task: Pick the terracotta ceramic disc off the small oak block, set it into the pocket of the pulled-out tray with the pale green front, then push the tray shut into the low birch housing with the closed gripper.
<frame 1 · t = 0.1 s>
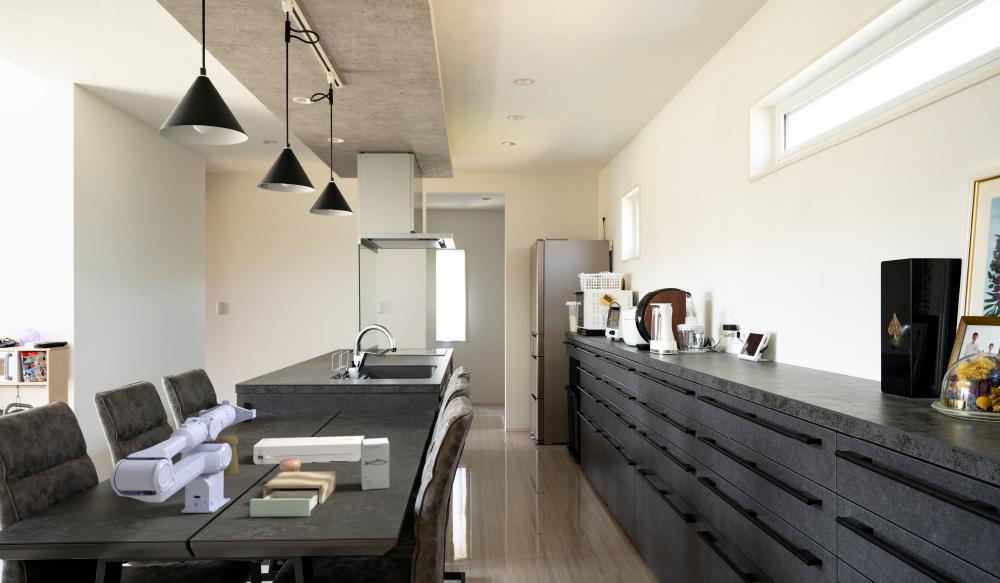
hand: (240, 406, 171), 22 cm above the table, tool horizontal, fingers open, 7 cm apart
supplement box: (374, 486, 168), on the table
pedestal: (290, 482, 171), on the table
laminator: (310, 460, 197), on the table
tray: (288, 499, 150), point 2 cm above the table, slide at 8.0 cm
disc: (290, 468, 171), point 4 cm above the table, touching pedestal
pepper mill: (228, 473, 181), on the table
housing: (300, 496, 158), on the table
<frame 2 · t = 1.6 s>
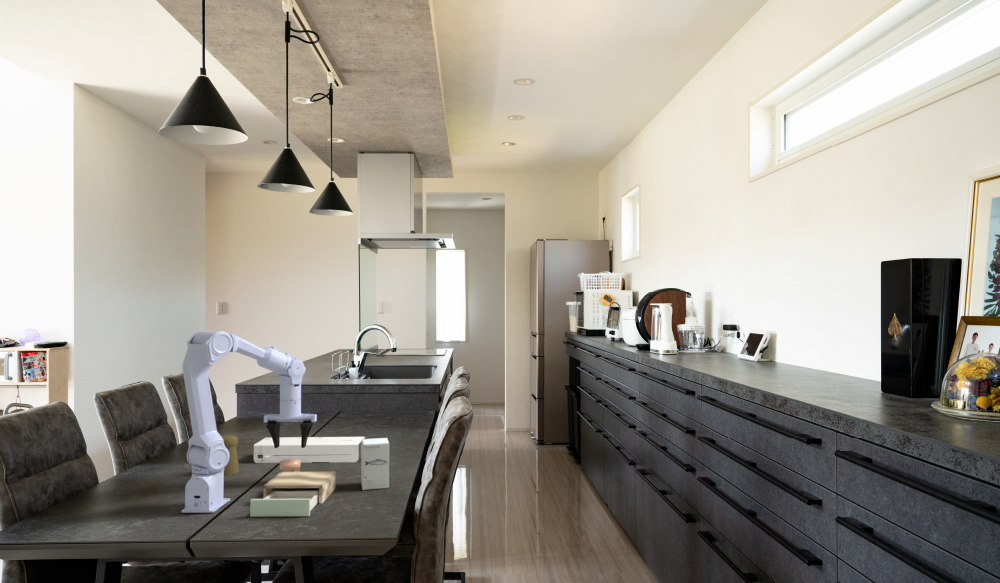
hand: (290, 447, 172), 10 cm above the table, tool pointing down, fingers open, 7 cm apart
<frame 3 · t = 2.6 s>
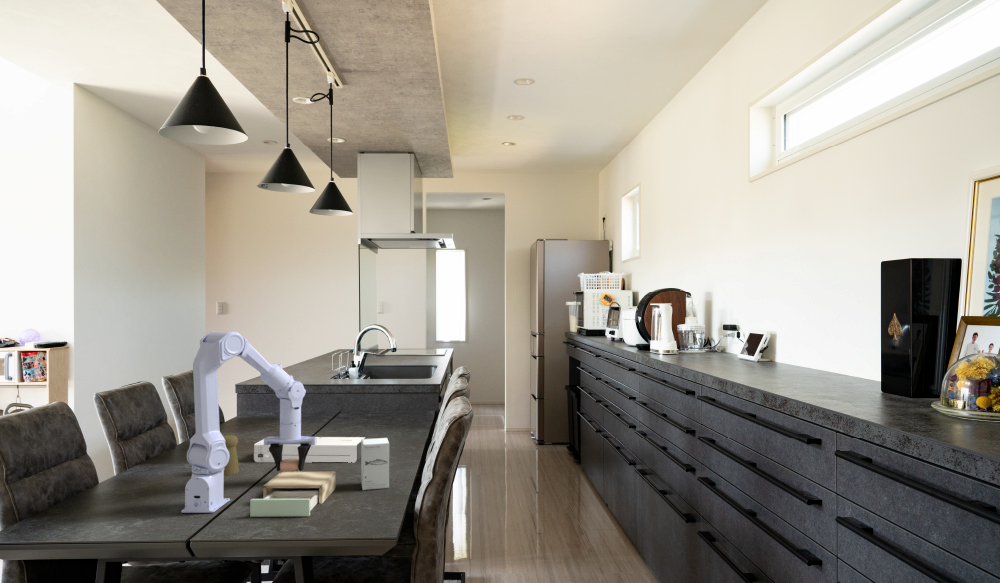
hand: (290, 470, 171), 3 cm above the table, tool pointing down, fingers closed on disc, 6 cm apart
disc: (290, 467, 171), point 4 cm above the table, touching gripper, pedestal
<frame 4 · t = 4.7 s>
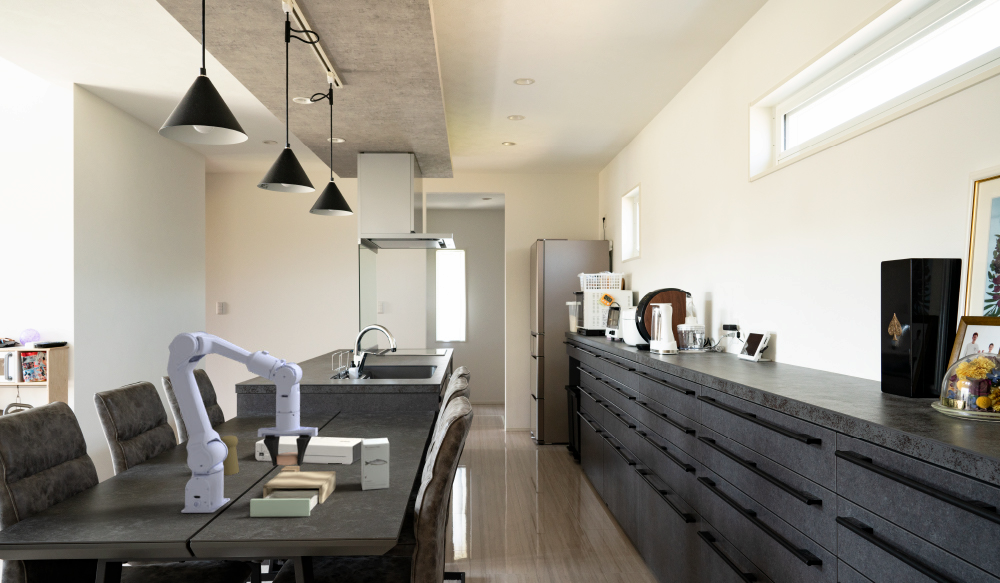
hand: (287, 464, 152), 10 cm above the table, tool pointing down, fingers closed on disc, 6 cm apart
disc: (288, 462, 153), point 11 cm above the table, touching gripper
when the fingers open (2 cm above the table, at t = 6.9 s): disc drops 1 cm, resting on tray.
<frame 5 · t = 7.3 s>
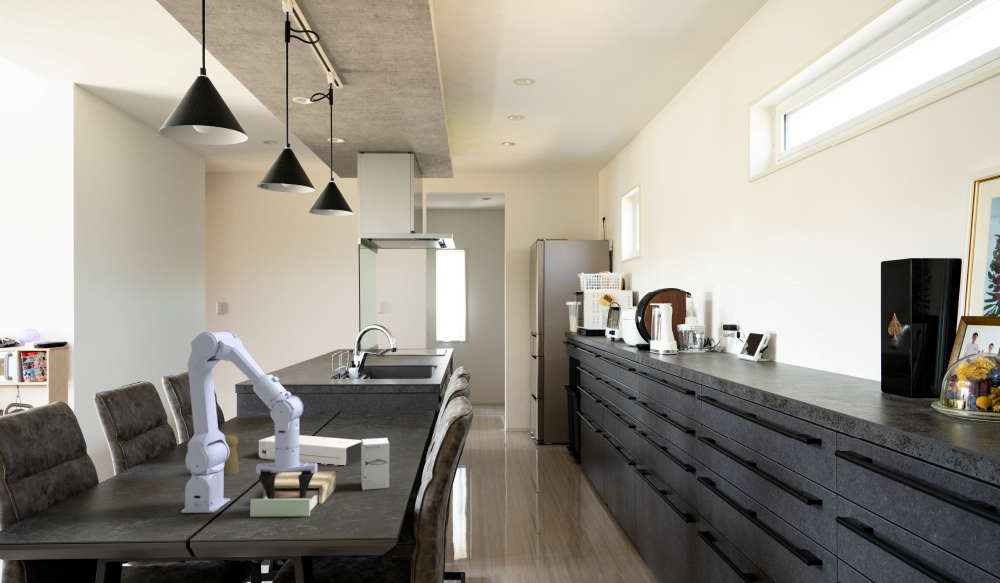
hand: (286, 501, 148), 2 cm above the table, tool pointing down, fingers open, 7 cm apart
tray: (288, 499, 150), point 2 cm above the table, slide at 8.0 cm, touching disc
disc: (287, 504, 149), point 1 cm above the table, touching tray
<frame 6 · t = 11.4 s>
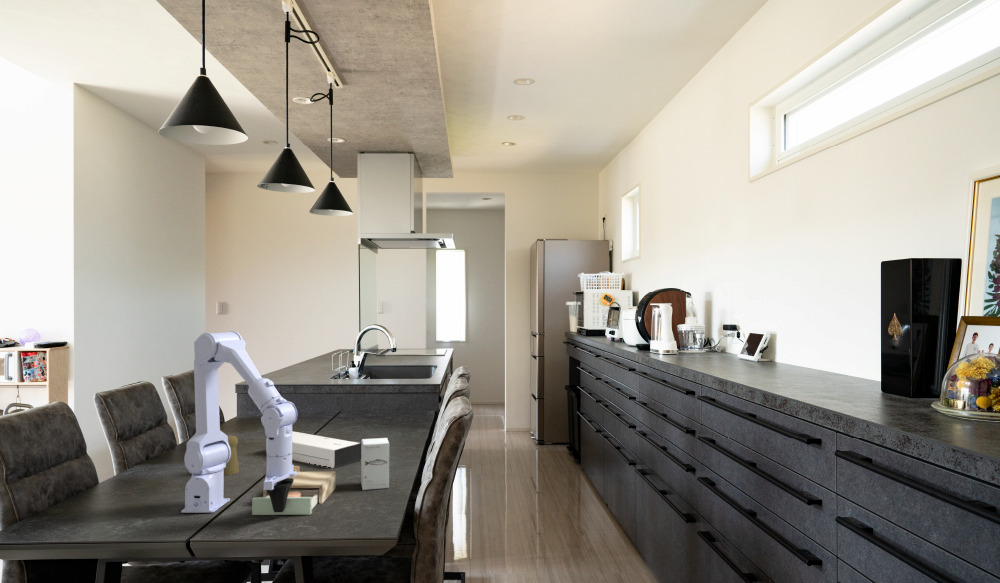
hand: (279, 511, 143), 1 cm above the table, tool pointing down, fingers closed
tray: (290, 497, 151), point 2 cm above the table, slide at 6.9 cm, touching disc, gripper
disc: (288, 502, 150), point 1 cm above the table, touching tray
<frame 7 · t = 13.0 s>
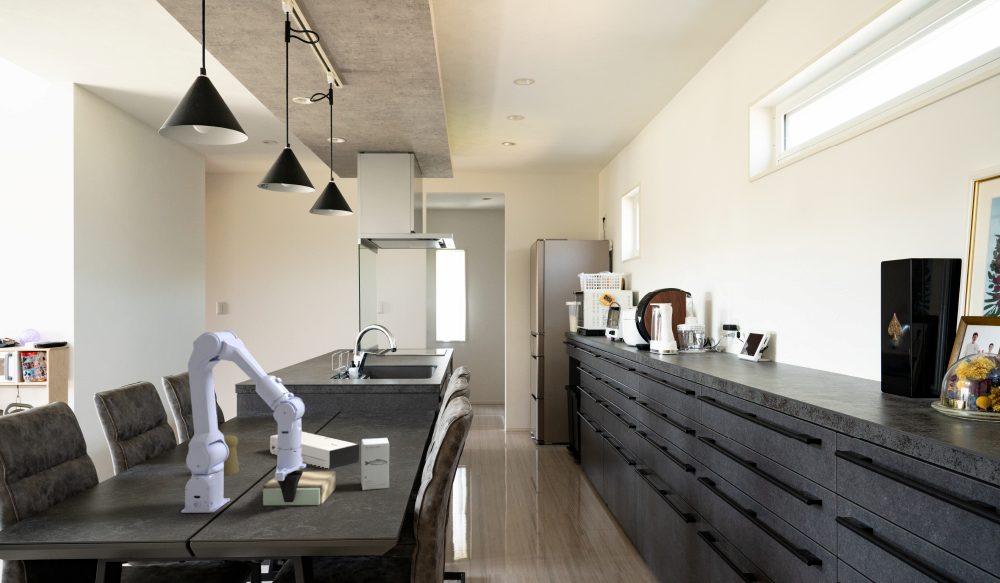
hand: (289, 501, 150), 1 cm above the table, tool pointing down, fingers closed
tray: (299, 489, 158), point 2 cm above the table, slide at 0.0 cm, touching disc, gripper
disc: (297, 494, 157), point 1 cm above the table, touching tray
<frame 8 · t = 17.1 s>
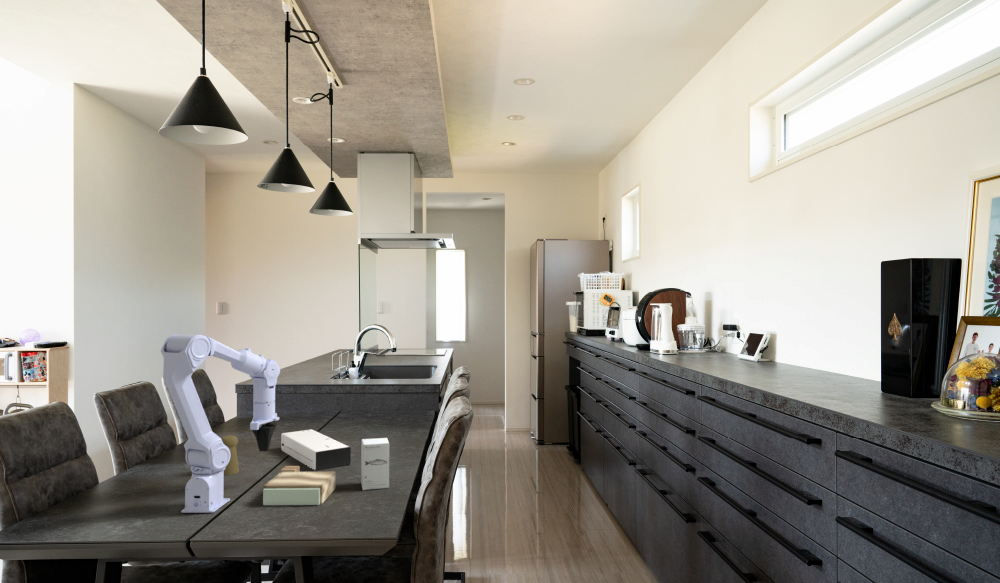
hand: (263, 450, 168), 10 cm above the table, tool pointing down, fingers closed
tray: (299, 489, 158), point 2 cm above the table, slide at 0.0 cm, touching disc
at the end: tray slide at 0.0 cm; disc inside the target area on the housing (2.4 cm from its centre), point 1.2 cm above the housing's base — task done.
